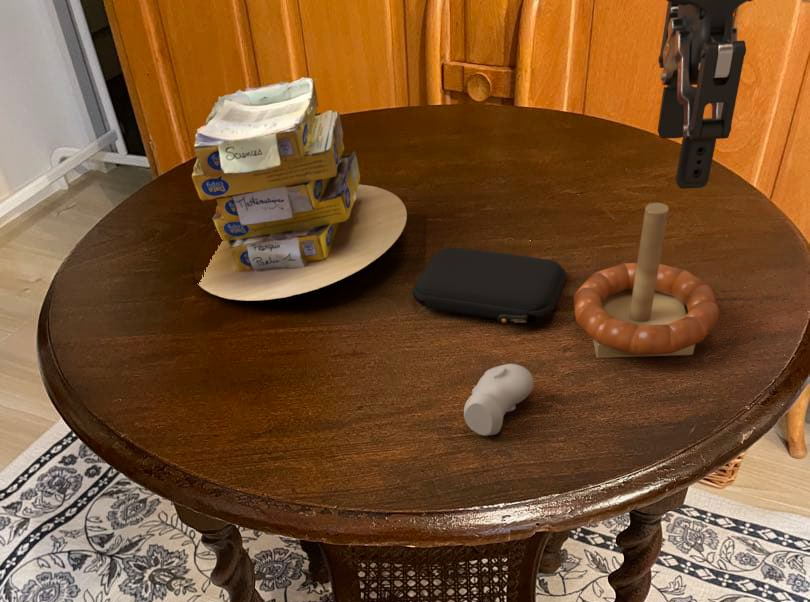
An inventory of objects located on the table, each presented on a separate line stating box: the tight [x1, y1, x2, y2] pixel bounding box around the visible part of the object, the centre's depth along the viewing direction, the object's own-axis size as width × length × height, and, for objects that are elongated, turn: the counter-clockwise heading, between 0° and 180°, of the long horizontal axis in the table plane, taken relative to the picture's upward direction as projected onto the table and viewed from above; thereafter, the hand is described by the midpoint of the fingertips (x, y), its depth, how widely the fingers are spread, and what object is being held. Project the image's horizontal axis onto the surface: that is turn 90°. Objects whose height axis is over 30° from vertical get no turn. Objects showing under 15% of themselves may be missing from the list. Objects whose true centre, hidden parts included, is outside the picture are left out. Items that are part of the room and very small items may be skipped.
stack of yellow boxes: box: [191, 77, 408, 302], centre depth 92 cm, size 25×25×17 cm
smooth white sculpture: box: [463, 363, 534, 437], centre depth 76 cm, size 4×8×5 cm
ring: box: [573, 262, 720, 354], centre depth 82 cm, size 13×13×3 cm
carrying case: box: [412, 246, 568, 325], centre depth 88 cm, size 11×3×15 cm
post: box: [592, 202, 696, 359], centre depth 80 cm, size 9×9×12 cm
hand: (680, 160), depth 67 cm, fingers open, 8 cm apart
